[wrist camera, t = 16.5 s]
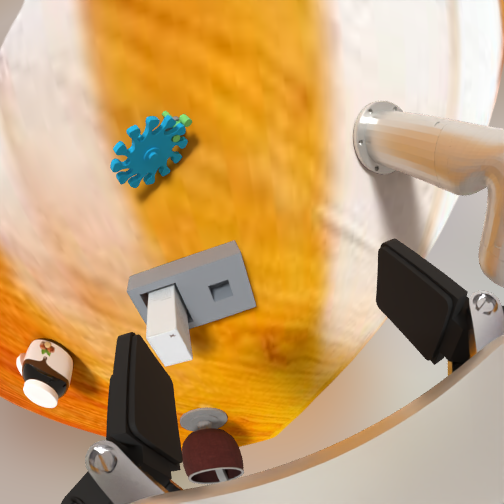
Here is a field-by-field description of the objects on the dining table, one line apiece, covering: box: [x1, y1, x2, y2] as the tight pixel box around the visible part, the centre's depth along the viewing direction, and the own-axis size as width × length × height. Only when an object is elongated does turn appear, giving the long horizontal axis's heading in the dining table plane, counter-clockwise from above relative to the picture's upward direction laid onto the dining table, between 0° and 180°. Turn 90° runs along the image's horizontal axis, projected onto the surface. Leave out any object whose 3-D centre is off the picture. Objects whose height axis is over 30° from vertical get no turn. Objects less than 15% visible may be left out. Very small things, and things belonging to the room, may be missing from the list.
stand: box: [127, 240, 256, 329], centre depth 42 cm, size 17×10×4 cm, turn 103°
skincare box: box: [146, 283, 193, 366], centre depth 38 cm, size 6×4×12 cm
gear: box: [110, 111, 192, 188], centre depth 30 cm, size 11×6×10 cm
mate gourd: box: [180, 408, 244, 484], centre depth 54 cm, size 16×14×20 cm
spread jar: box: [17, 338, 73, 408], centre depth 37 cm, size 12×11×12 cm
